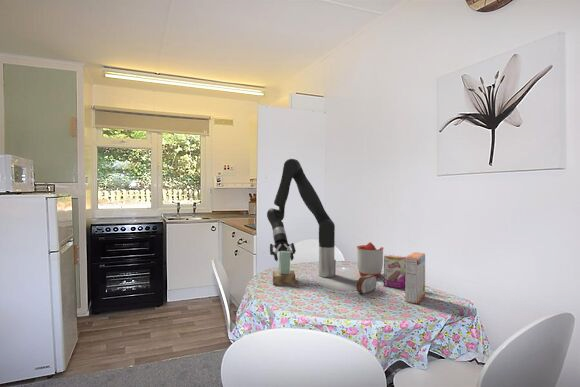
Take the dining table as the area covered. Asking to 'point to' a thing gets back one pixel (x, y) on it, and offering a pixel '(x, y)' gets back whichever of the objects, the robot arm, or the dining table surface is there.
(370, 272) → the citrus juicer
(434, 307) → the dining table surface
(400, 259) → the candy bar box
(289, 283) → the wooden block
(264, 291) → the dining table surface
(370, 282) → the tin
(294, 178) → the robot arm
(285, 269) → the green pillar
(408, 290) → the cracker box
